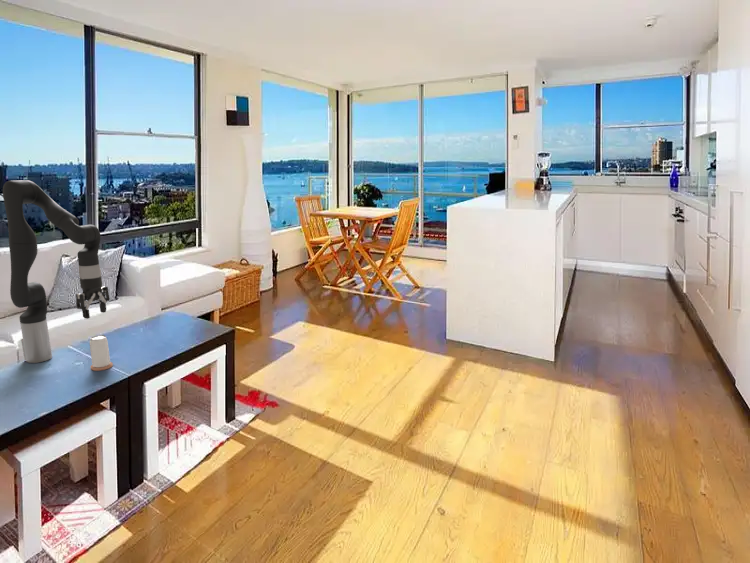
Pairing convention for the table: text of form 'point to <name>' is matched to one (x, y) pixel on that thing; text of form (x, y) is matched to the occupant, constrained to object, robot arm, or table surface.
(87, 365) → the table surface
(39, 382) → the table surface
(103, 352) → the can
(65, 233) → the robot arm
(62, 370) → the table surface
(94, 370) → the peach round disc
